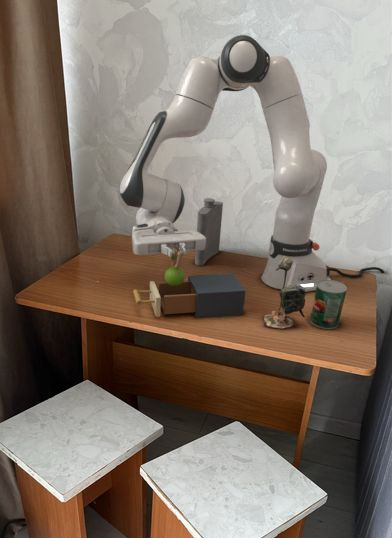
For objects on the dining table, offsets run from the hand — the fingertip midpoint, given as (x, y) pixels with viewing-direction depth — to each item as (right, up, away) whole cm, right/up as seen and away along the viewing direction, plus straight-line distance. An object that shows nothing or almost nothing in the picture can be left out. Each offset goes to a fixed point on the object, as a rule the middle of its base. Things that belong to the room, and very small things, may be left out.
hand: (177, 253), depth 129 cm
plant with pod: (+28, -18, +6) cm, 34 cm away
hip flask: (+8, +7, +43) cm, 44 cm away
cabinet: (+10, -13, +12) cm, 20 cm away
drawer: (-4, -13, +9) cm, 16 cm away
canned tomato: (+40, -18, +8) cm, 45 cm away
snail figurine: (-1, -8, +6) cm, 10 cm away
